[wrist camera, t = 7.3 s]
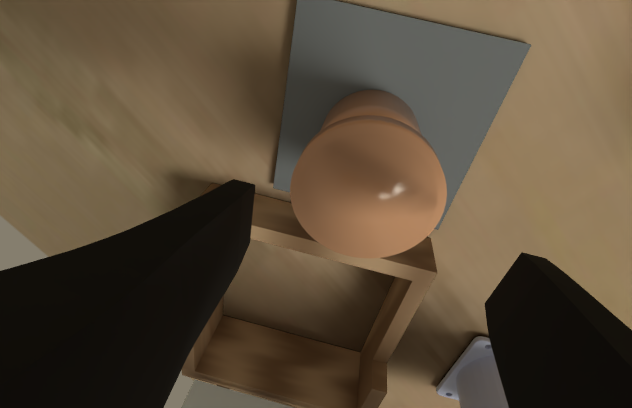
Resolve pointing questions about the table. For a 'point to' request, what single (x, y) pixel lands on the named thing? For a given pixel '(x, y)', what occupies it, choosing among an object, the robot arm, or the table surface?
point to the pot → (369, 179)
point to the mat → (395, 79)
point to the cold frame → (303, 353)
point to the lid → (223, 398)
